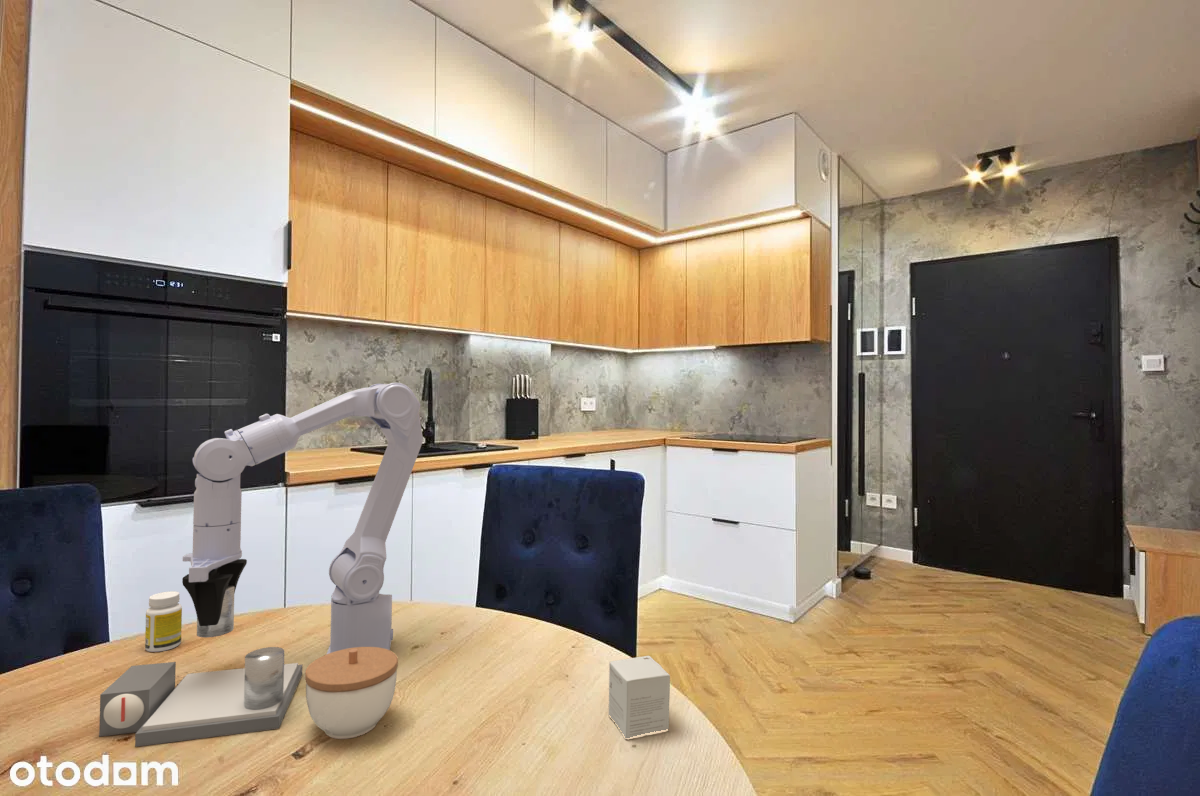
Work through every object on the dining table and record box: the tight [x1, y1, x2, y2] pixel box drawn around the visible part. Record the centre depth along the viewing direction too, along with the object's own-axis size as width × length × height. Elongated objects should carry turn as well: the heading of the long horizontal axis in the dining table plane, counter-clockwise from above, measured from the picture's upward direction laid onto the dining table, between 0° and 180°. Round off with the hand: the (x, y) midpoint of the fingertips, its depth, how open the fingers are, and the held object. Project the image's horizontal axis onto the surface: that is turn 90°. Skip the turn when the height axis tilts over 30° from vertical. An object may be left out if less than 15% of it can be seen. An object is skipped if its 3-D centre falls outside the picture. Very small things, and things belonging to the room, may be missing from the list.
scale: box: [98, 661, 304, 748], centre depth 77 cm, size 20×15×5 cm
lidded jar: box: [304, 647, 399, 740], centre depth 74 cm, size 11×11×9 cm
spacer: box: [196, 585, 235, 638], centre depth 84 cm, size 4×4×6 cm
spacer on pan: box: [244, 646, 285, 710], centre depth 75 cm, size 4×4×6 cm
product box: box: [608, 655, 671, 738], centre depth 75 cm, size 6×6×7 cm
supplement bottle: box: [144, 590, 183, 653], centre depth 96 cm, size 5×5×8 cm
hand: (215, 618), depth 84 cm, fingers closed on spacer, 4 cm apart
